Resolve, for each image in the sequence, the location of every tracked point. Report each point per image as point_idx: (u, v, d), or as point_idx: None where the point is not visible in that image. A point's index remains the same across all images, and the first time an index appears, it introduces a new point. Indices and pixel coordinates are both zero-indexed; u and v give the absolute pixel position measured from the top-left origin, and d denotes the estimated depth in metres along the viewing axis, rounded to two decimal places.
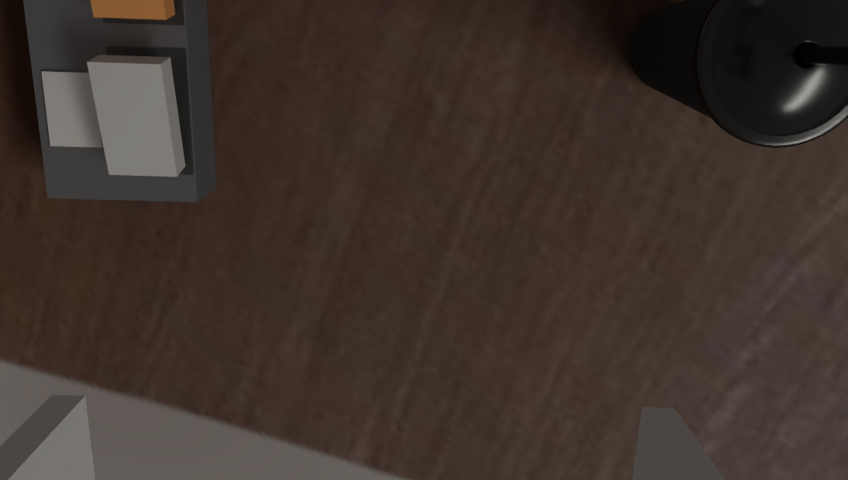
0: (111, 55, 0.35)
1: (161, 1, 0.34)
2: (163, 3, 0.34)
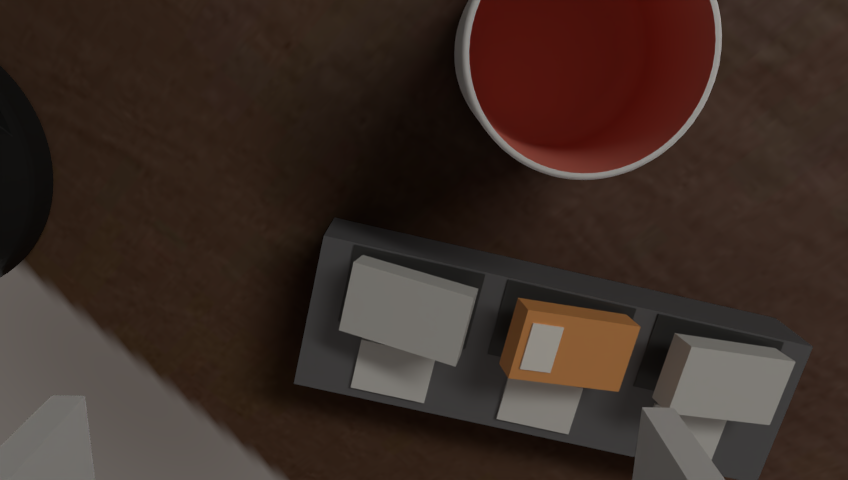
0: (656, 386, 0.35)
1: (624, 326, 0.33)
2: (626, 324, 0.33)
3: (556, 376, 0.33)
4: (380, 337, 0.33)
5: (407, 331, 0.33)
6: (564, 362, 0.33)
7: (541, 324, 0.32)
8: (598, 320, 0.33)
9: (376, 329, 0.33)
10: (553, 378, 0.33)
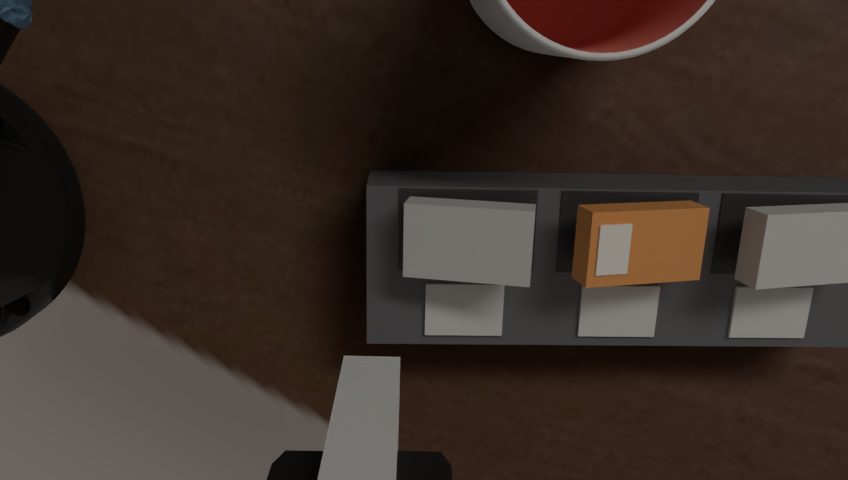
0: (736, 266, 0.33)
1: (692, 210, 0.32)
2: (694, 208, 0.32)
3: (633, 276, 0.32)
4: (446, 274, 0.32)
5: (473, 262, 0.32)
6: (639, 260, 0.32)
7: (609, 225, 0.31)
8: (665, 209, 0.32)
9: (441, 267, 0.32)
10: (631, 279, 0.32)
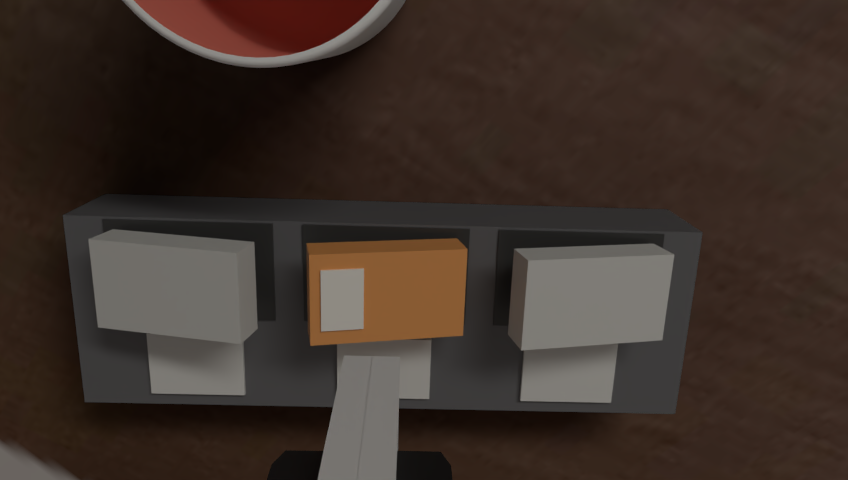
0: (509, 320, 0.27)
1: (444, 252, 0.26)
2: (447, 249, 0.26)
3: (374, 331, 0.26)
4: (146, 326, 0.26)
5: (174, 312, 0.26)
6: (379, 312, 0.26)
7: (332, 270, 0.25)
8: (408, 251, 0.26)
9: (139, 317, 0.26)
10: (370, 334, 0.26)
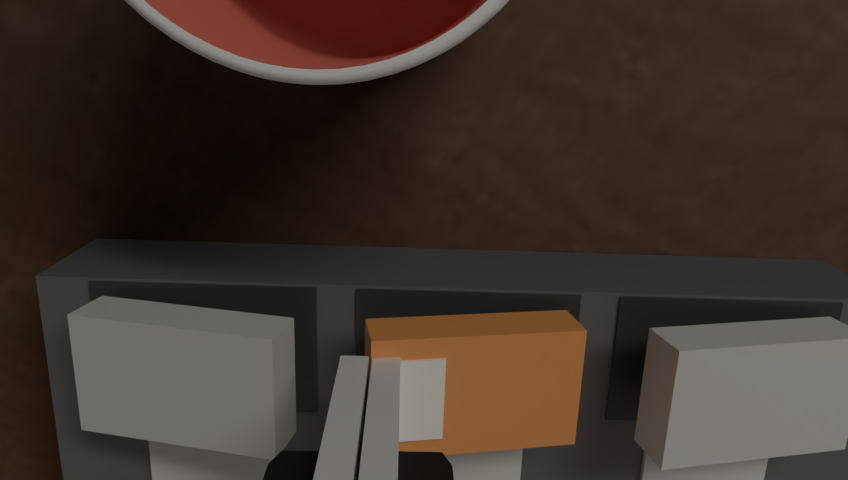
0: (637, 421, 0.20)
1: (556, 335, 0.19)
2: (559, 332, 0.19)
3: (456, 441, 0.19)
4: (146, 431, 0.19)
5: (184, 414, 0.19)
6: (464, 415, 0.19)
7: (402, 361, 0.18)
8: (507, 334, 0.19)
9: (136, 419, 0.19)
10: (451, 445, 0.19)
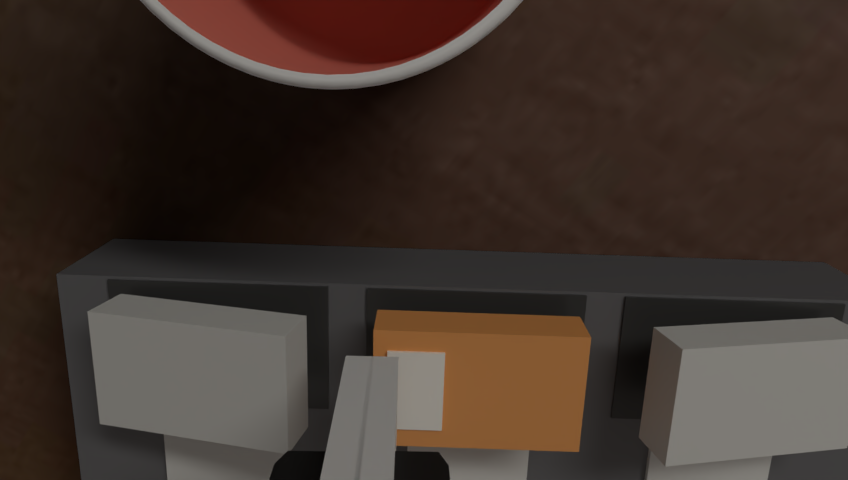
0: (641, 419, 0.20)
1: (558, 340, 0.19)
2: (562, 336, 0.19)
3: (456, 435, 0.20)
4: (163, 425, 0.20)
5: (199, 409, 0.19)
6: (464, 411, 0.19)
7: (403, 352, 0.19)
8: (508, 334, 0.19)
9: (153, 413, 0.20)
10: (451, 438, 0.20)
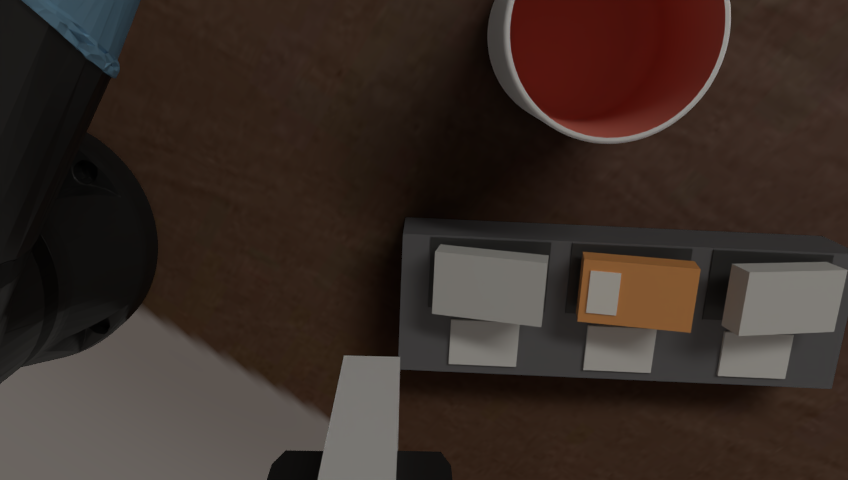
0: (723, 314, 0.38)
1: (682, 269, 0.36)
2: (684, 268, 0.36)
3: (623, 319, 0.37)
4: (470, 313, 0.37)
5: (493, 303, 0.37)
6: (628, 305, 0.37)
7: (599, 271, 0.37)
8: (655, 265, 0.36)
9: (465, 307, 0.37)
10: (620, 320, 0.37)
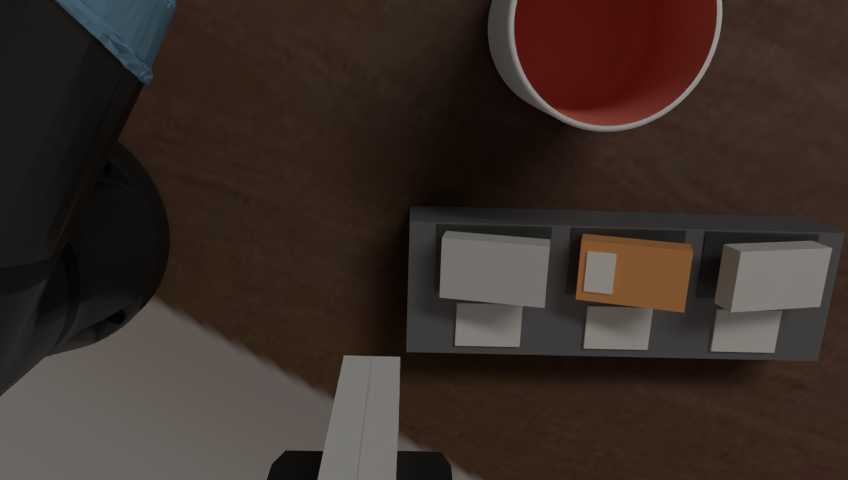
0: (716, 292, 0.40)
1: (675, 251, 0.38)
2: (677, 249, 0.38)
3: (619, 297, 0.39)
4: (476, 296, 0.39)
5: (498, 286, 0.39)
6: (624, 285, 0.39)
7: (595, 252, 0.39)
8: (649, 247, 0.38)
9: (471, 290, 0.39)
10: (616, 299, 0.39)
